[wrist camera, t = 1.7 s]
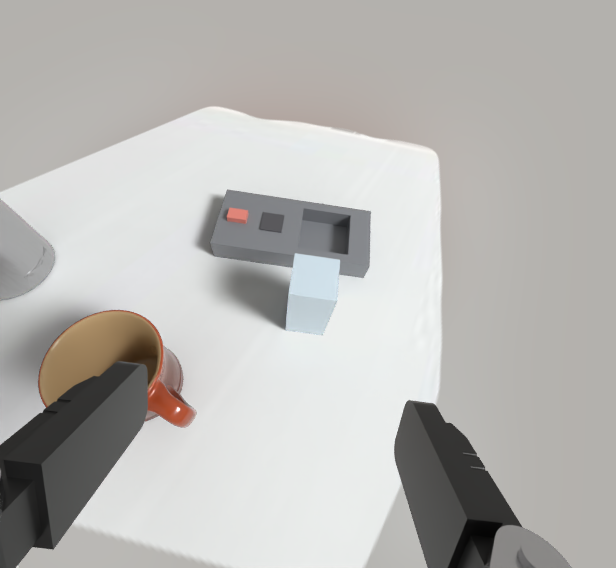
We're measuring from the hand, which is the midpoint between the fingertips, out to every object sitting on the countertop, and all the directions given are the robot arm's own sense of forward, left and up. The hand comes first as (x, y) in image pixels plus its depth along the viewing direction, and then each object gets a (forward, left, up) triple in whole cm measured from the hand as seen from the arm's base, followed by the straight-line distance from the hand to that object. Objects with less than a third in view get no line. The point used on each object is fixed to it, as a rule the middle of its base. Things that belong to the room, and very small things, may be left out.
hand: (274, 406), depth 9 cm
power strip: (-1, +24, -25) cm, 35 cm away
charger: (+2, +13, -25) cm, 28 cm away
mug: (-12, +2, -25) cm, 28 cm away
